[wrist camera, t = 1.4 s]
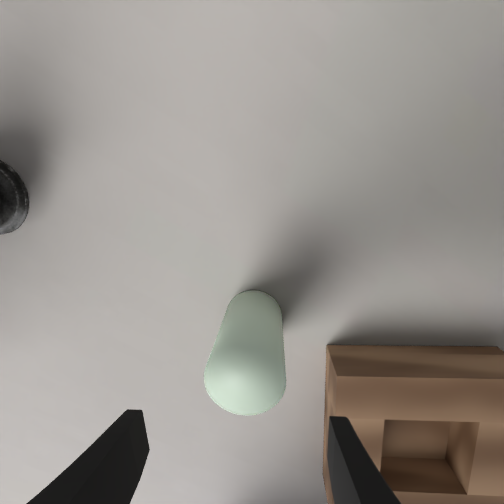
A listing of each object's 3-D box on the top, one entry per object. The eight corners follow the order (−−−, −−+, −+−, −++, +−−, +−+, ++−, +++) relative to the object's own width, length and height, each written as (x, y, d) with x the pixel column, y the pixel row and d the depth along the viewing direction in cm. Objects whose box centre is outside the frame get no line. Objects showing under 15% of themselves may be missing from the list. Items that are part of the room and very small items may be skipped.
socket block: (473, 480, 23) (508, 532, 19) (322, 473, 24) (331, 522, 20) (496, 346, 20) (542, 379, 17) (326, 345, 21) (336, 376, 17)
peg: (282, 341, 21) (286, 416, 14) (227, 341, 21) (206, 414, 15) (281, 290, 20) (285, 343, 13) (224, 290, 21) (201, 343, 14)
